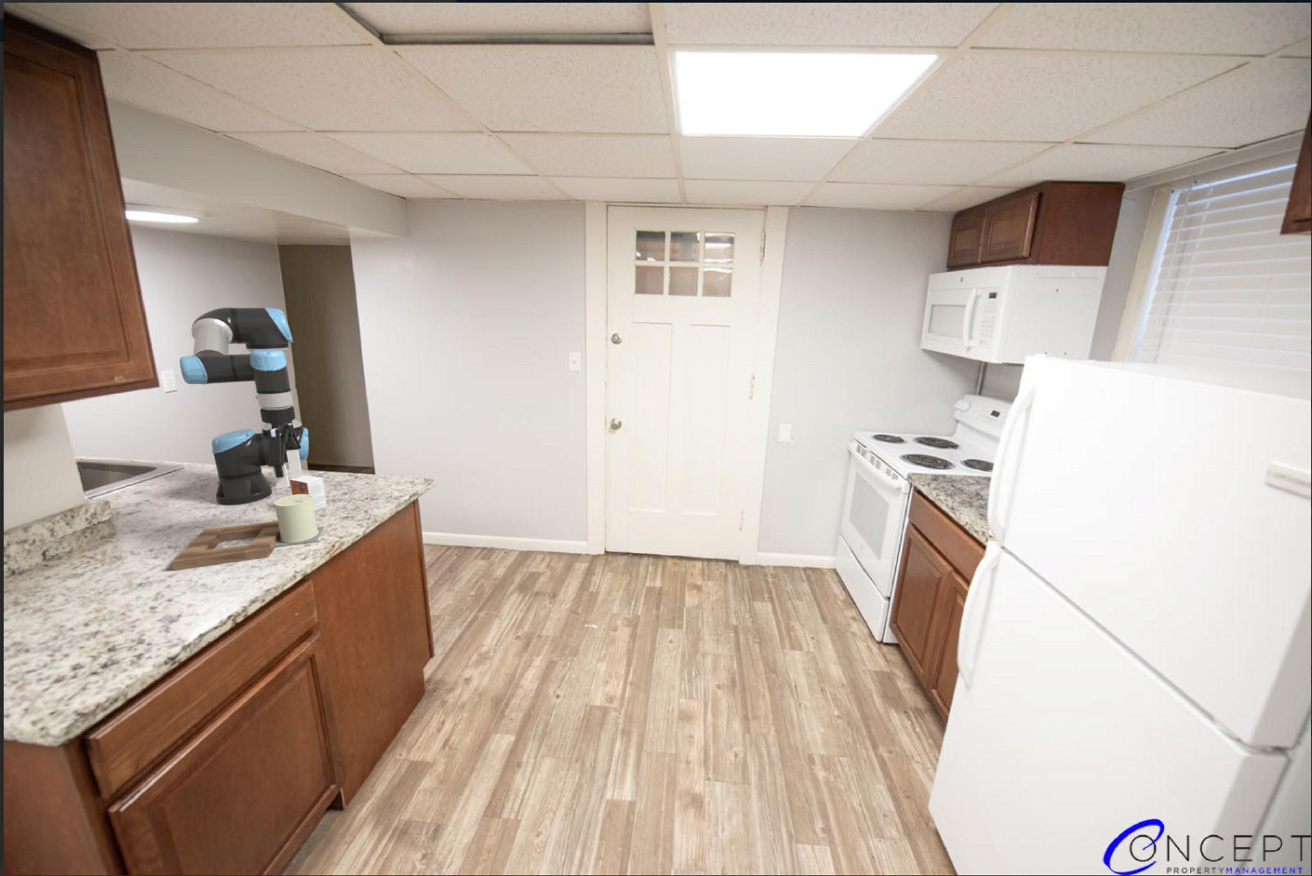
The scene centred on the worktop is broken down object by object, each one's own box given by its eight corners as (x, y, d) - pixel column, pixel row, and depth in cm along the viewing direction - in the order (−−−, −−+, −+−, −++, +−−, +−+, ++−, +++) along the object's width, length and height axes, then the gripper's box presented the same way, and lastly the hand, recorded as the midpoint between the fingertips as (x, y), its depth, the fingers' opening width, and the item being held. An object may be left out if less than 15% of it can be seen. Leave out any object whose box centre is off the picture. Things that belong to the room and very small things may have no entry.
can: (299, 544, 141) (292, 505, 138) (272, 541, 143) (264, 502, 139) (326, 531, 150) (320, 494, 146) (300, 527, 151) (294, 491, 148)
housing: (206, 537, 145) (204, 529, 144) (288, 527, 152) (286, 519, 152) (173, 570, 127) (171, 562, 126) (268, 557, 135) (266, 549, 134)
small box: (294, 508, 165) (288, 479, 163) (310, 502, 171) (305, 474, 168) (311, 512, 163) (306, 482, 160) (327, 506, 168) (322, 477, 165)
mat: (284, 532, 149) (284, 531, 149) (323, 527, 153) (323, 526, 152) (274, 547, 140) (274, 546, 140) (316, 541, 144) (316, 540, 144)
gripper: (273, 398, 145) (285, 466, 151) (244, 418, 123) (259, 496, 129) (303, 397, 148) (314, 463, 154) (280, 416, 126) (294, 493, 132)
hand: (289, 479), depth 142 cm, fingers open, 13 cm apart
